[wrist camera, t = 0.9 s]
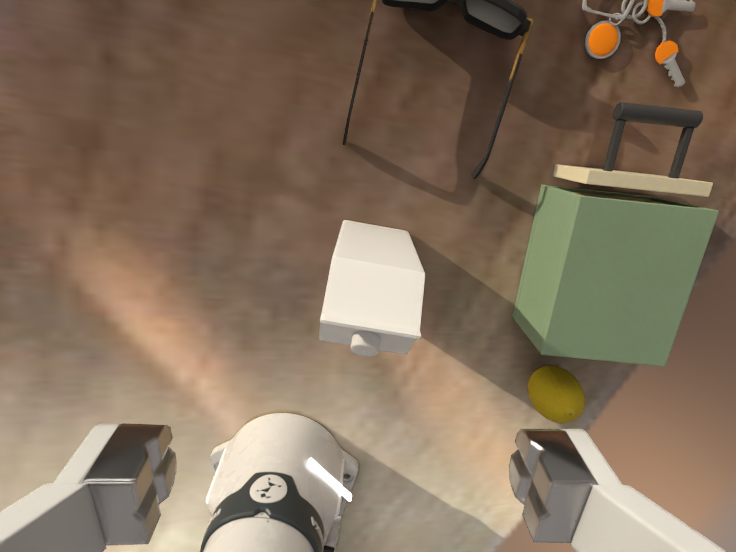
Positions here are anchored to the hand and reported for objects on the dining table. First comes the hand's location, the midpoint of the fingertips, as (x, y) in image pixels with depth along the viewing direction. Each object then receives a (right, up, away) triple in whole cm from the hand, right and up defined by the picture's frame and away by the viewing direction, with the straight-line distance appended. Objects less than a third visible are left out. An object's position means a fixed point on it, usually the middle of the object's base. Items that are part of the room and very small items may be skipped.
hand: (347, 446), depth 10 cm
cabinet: (+24, +6, +38) cm, 45 cm away
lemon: (+21, -8, +43) cm, 48 cm away
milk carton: (+1, +6, +38) cm, 39 cm away
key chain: (+26, +27, +31) cm, 49 cm away
